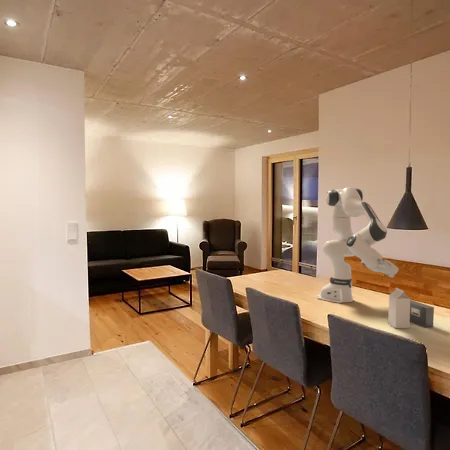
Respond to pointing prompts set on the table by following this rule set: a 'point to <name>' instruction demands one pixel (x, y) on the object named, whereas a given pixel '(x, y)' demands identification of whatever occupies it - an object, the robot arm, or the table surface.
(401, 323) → the milk carton
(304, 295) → the table surface
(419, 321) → the grey rectangular box
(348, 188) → the robot arm
